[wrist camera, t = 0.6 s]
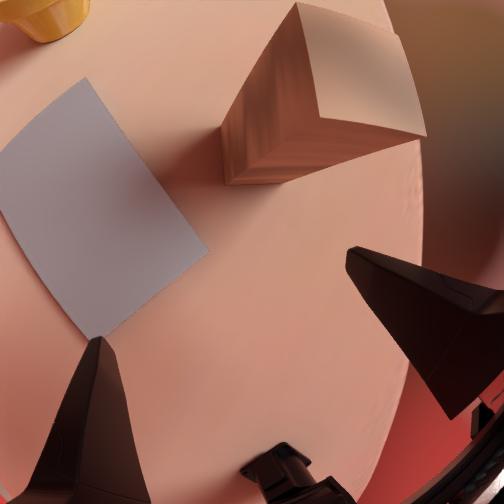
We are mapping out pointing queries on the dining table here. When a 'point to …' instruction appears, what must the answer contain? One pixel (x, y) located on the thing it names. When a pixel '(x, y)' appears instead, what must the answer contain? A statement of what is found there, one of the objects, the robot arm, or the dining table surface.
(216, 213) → the dining table surface
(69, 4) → the plant pot
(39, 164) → the board
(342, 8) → the dining table surface
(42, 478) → the robot arm
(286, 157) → the walnut block
